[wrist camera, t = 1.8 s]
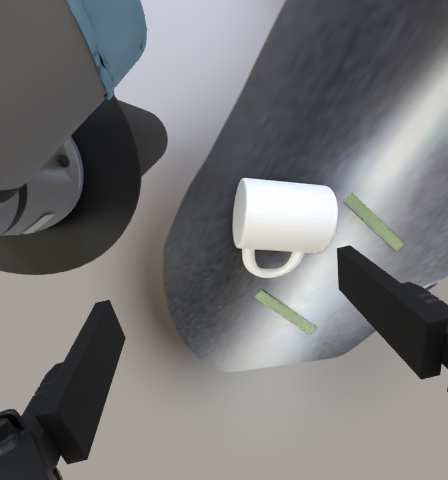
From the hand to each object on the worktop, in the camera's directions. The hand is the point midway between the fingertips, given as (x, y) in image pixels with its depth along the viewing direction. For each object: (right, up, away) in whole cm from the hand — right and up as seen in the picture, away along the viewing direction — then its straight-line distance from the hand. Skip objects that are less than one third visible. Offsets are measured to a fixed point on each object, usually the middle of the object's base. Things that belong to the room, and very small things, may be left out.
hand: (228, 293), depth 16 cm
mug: (+6, +5, +21) cm, 23 cm away
